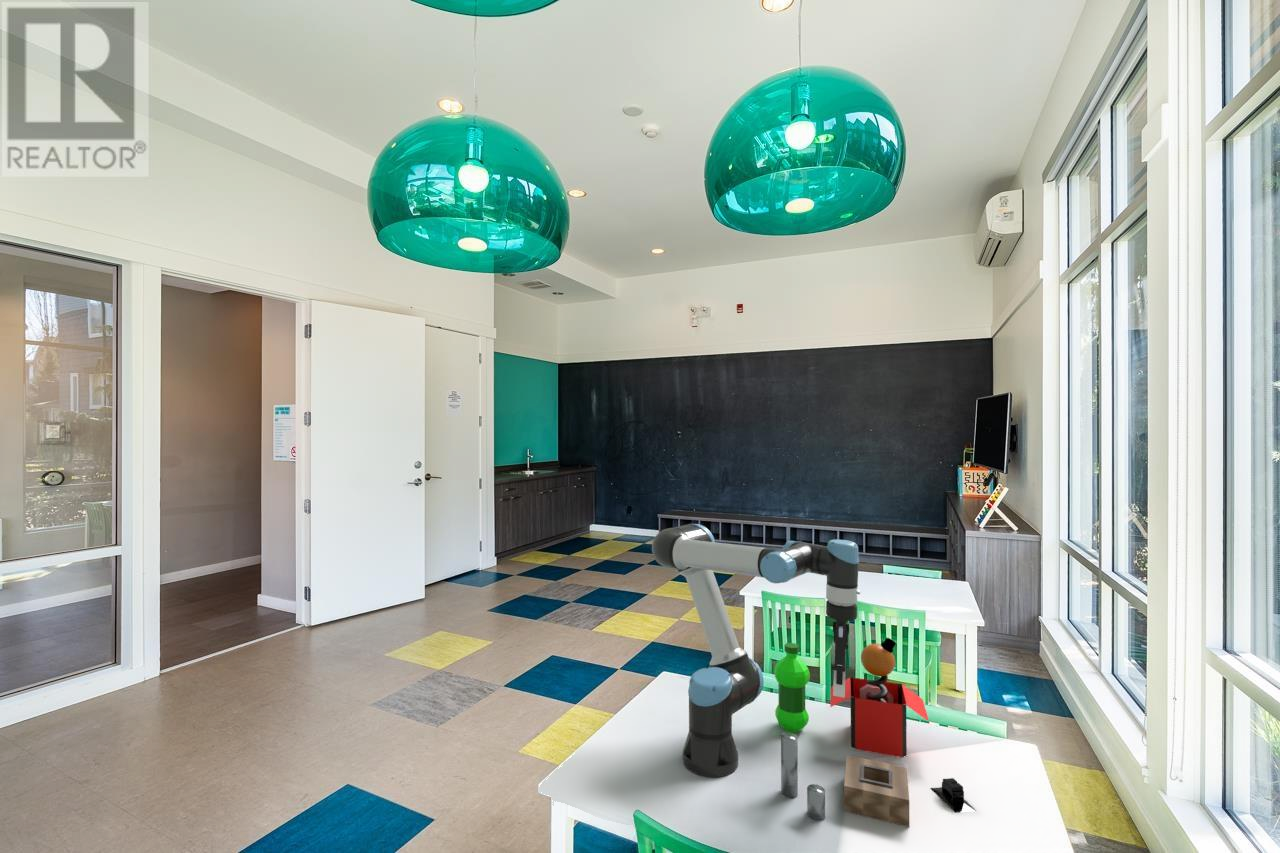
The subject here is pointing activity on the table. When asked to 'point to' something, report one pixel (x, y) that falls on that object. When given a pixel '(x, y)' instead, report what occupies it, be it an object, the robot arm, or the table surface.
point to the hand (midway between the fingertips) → (839, 684)
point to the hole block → (876, 790)
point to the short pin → (816, 802)
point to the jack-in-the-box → (879, 704)
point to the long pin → (789, 765)
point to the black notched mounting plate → (953, 796)
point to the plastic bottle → (791, 690)
